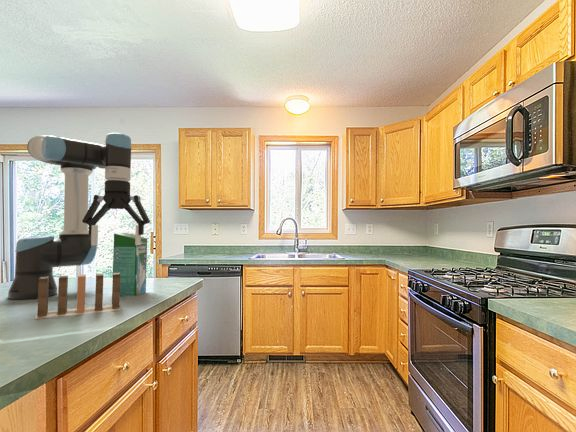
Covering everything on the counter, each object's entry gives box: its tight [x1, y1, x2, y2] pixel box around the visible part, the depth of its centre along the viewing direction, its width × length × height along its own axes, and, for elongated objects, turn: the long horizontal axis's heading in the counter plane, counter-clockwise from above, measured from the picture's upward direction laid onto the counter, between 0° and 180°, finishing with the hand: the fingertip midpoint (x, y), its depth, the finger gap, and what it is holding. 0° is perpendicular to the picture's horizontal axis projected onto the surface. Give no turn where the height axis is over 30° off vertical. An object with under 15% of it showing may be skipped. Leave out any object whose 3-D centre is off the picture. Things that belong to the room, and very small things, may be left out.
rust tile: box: [76, 273, 87, 313], centre depth 101 cm, size 4×2×11 cm, turn 31°
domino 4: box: [111, 272, 121, 309], centre depth 106 cm, size 4×2×11 cm, turn 31°
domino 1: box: [36, 277, 49, 317], centre depth 96 cm, size 4×2×11 cm, turn 31°
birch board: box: [33, 304, 122, 320], centre depth 101 cm, size 9×22×1 cm, turn 121°
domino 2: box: [57, 275, 69, 315], centre depth 98 cm, size 4×2×11 cm, turn 31°
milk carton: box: [112, 232, 148, 297], centre depth 128 cm, size 9×9×25 cm
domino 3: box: [94, 273, 104, 311], centre depth 103 cm, size 4×2×11 cm, turn 31°
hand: (116, 245), depth 106 cm, fingers open, 13 cm apart
